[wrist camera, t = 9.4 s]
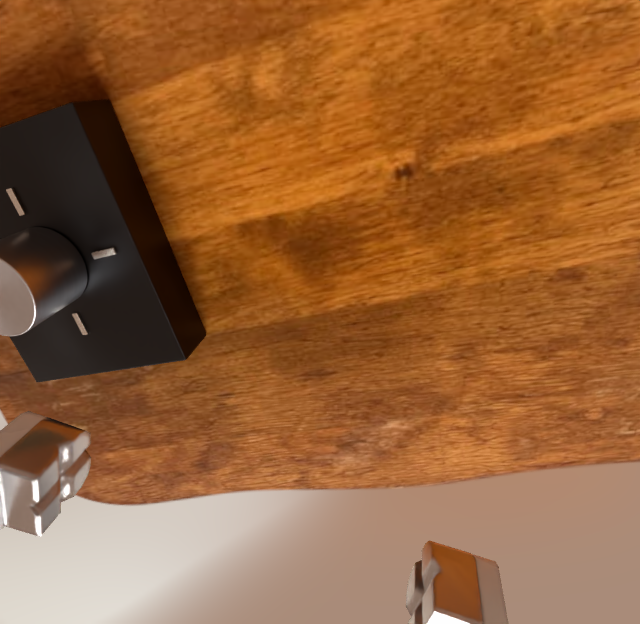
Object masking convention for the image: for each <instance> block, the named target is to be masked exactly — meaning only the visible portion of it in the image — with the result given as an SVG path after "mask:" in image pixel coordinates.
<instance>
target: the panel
mask: <svg viewBox="0 0 640 624" xmlns="http://www.w3.org/2000/svg"><path fill="white" fill-rule="evenodd" d="M31 227H43V228H47V229H50V230H53V231H55V232H57V233H59V234H61V235H62V236H64V237H65V238H66V239H68V240H69V241H70V242H71V243H72V244H73V245H74V246H75V248H76V249H77V250H78V252H79V253H80V255H81V256H82V259H83V261H84V263H85V266H86V270H87V285H86V288H85V290H84V292H83V294H82V295H81V296H80V297H79V298H78V299H76V300H75V301H73V302H72V303H70V304H69V305H67V306H66V307H64V308H63V309H61V310H59V311H58V312H56V313H55V314H53V315H52V316H50V317H49V318H47V319H46V320H44V321H43V322H41V323H40V324H38V325H37V326H35V327H33V328H32V329H30V330H29V331H27V332H26V333H24V334H21V335H17V336H9V337H10V338H11V340H12V342H13V343H14V345H15V347H16V348H17V350H18V352H19V353H20V355H21V357H22V358H23V360H24V362H25V363H26V365H27V367H28V368H29V370H30V372H31V373H32V375H33V377H34V378H35V380H36V382H43V381H50V380H56V379H63V378H69V377H76V376H83V375H89V374H96V373H103V372H109V371H116V370H122V369H129V368H136V367H142V366H149V365H155V364H162V363H169V362H175V361H182V360H186V359H187V358H188V357H189V356H190V354H191V353H192V352H193V351H194V350H195V348H196V347H197V346H198V345H199V343H200V342H201V341H202V340H203V339H204V337H205V336H206V332H205V330H204V328H203V325H202V323H201V320H200V318H199V316H198V313H197V311H196V308H195V306H194V303H193V301H192V299H191V296H190V294H189V291H188V289H187V286H186V284H185V282H184V279H183V277H182V274H181V272H180V270H179V267H178V265H177V262H176V260H175V257H174V255H173V253H172V250H171V248H170V245H169V243H168V241H167V238H166V236H165V233H164V231H163V228H162V226H161V224H160V221H159V219H158V216H157V214H156V211H155V209H154V207H153V204H152V202H151V199H150V197H149V195H148V192H147V190H146V187H145V185H144V182H143V180H142V178H141V175H140V173H139V170H138V168H137V165H136V163H135V161H134V158H133V156H132V153H131V151H130V149H129V146H128V144H127V141H126V139H125V136H124V134H123V132H122V129H121V127H120V124H119V122H118V119H117V117H116V115H115V112H114V110H113V107H112V105H111V103H110V100H108V99H106V100H94V101H81V102H71V103H68V104H65V105H62V106H60V107H57V108H54V109H51V110H48V111H46V112H43V113H40V114H37V115H34V116H32V117H29V118H26V119H23V120H20V121H17V122H15V123H12V124H9V125H6V126H3V127H1V128H0V239H2V238H5V237H7V236H10V235H12V234H15V233H17V232H20V231H23V230H25V229H28V228H31Z"/></svg>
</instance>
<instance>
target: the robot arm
mask: <svg viewBox="0 0 640 624" xmlns="http://www.w3.org/2000/svg"><path fill="white" fill-rule="evenodd" d="M90 444H91V438H90V433H89V432H87V431H85V430H82V429H79V428H76V427H74V426H71V425H68V424H65V423H62V422H59V421H57V420H54V419H51V418H48V417H45V416H42V415H39V414H36V413H33V412H30V411H28V412H25V413H22V414H20V415H19V416H18V417H16V418H15V419H14V420H13V421H12V422H10V423H9V424H8V425H7V426H6V427H5V428H3V429H2V430H1V431H0V530H1V529H3V528H4V526H6V527H10V528H13V529H16V530H20V531H23V532H26V533H30V534H33V535H36V536H39V537H40V536H41V535H42V534H43V533H44V532H45V530H46V529H47V528H48V527H49V526H50V524H51V523H52V522H53V521H54V520H55V518H56V517H57V516H58V514H60V512H61V502H63V501H65V500H67V499H69V498H72V497H74V496H75V494H76V493H77V492H78V491H79V489H80V488H81V487H82V485H83V483H84V481H85V479H86V477H87V476H88V473H89V469H90V465H91V457H90V455H89V454H88V452H87V451H86V448H87V447H88V446H89V445H90ZM406 608H407V609H408V611H409V613H410V615H411V619H410V620H409V623H408V624H508V619H507V613H506V607H505V601H504V597H503V590H502V584H501V579H500V573H499V567H498V565H497V564H496V562H495V561H492V560H489V559H485V558H483V557H479V556H476V555H472V554H471V553H468V552H465V551H461V550H458V549H455V548H451V547H448V546H445V545H442V544H439V543H435V542H432V541H428V542H427V543H426V544H425V546H424V548H423V550H422V560H421V561H419V562H416V563H415V565H414V567H413V569H412V571H411V574H410V578H409V581H408V586H407V596H406Z"/></svg>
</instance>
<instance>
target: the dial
mask: <svg viewBox="0 0 640 624" xmlns="http://www.w3.org/2000/svg"><path fill="white" fill-rule="evenodd" d="M86 285H87V270H86V266H85V263H84V261H83V259H82V256H81V255H80V253H79V252H78V250H77V249H76V248H75V246H74V245H73V244H72V243H71V242H70V241H69V240H68V239H66V238H65V237H64V236H62V235H61V234H59V233H57V232H55V231H53V230H50V229H47V228H43V227H31V228H28V229H25V230H23V231H20V232H17V233H15V234H12V235H10V236H7V237H5V238H2V239H0V335H3V336H17V335H21V334H24V333H26V332H27V331H29V330H30V329H32V328H33V327H35V326H37V325H38V324H40V323H41V322H43V321H44V320H46V319H47V318H49V317H50V316H52V315H53V314H55V313H56V312H58V311H59V310H61V309H63V308H64V307H66V306H67V305H69V304H70V303H72V302H73V301H75V300H76V299H78V298H79V297H80V296H81V295H82V294H83V292H84V290H85V288H86Z"/></svg>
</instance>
